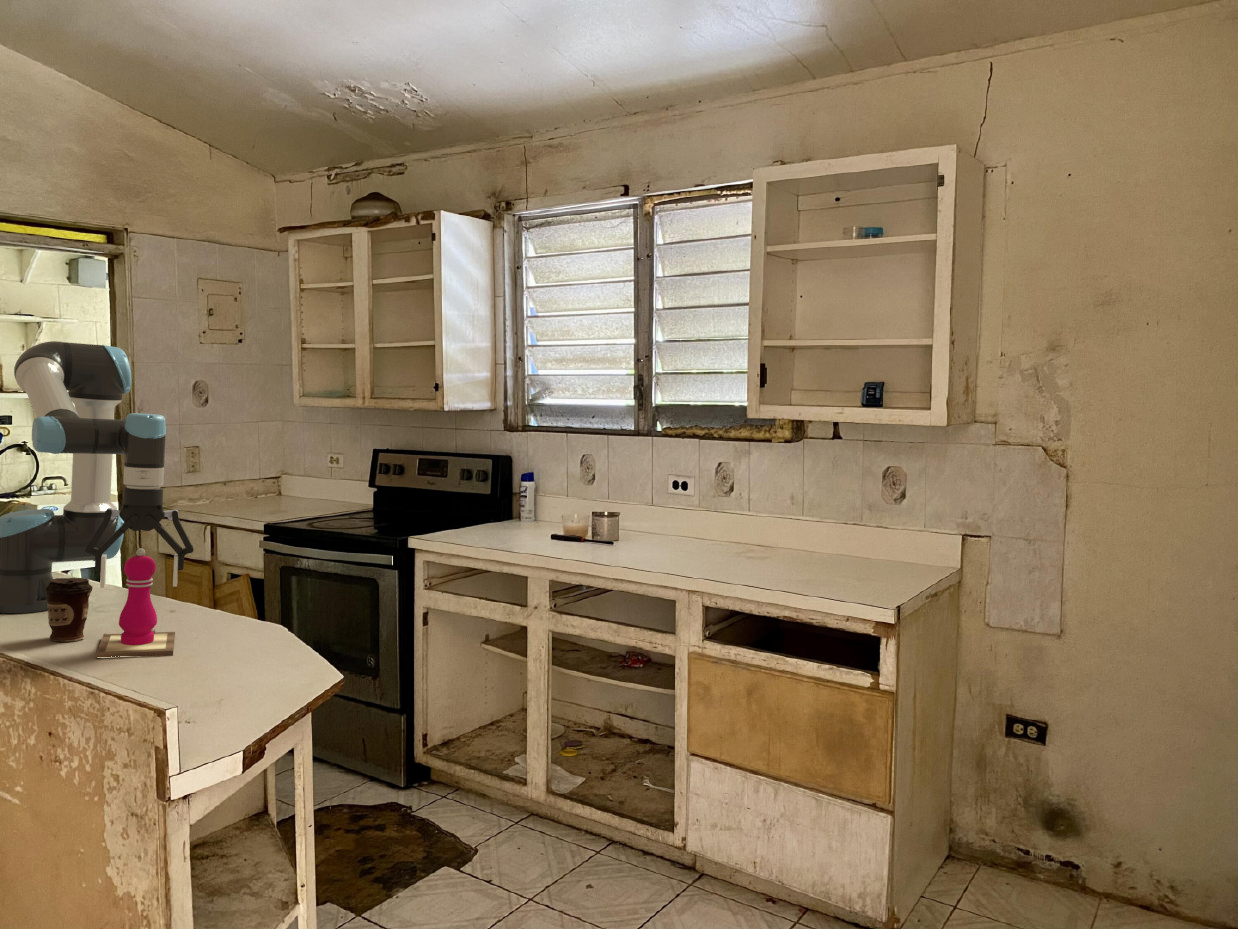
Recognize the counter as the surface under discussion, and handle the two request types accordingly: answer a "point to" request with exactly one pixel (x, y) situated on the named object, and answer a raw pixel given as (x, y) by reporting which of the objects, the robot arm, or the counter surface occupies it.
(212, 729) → the counter surface
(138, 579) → the pepper mill
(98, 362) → the robot arm
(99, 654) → the clipboard
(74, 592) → the coffee cup
